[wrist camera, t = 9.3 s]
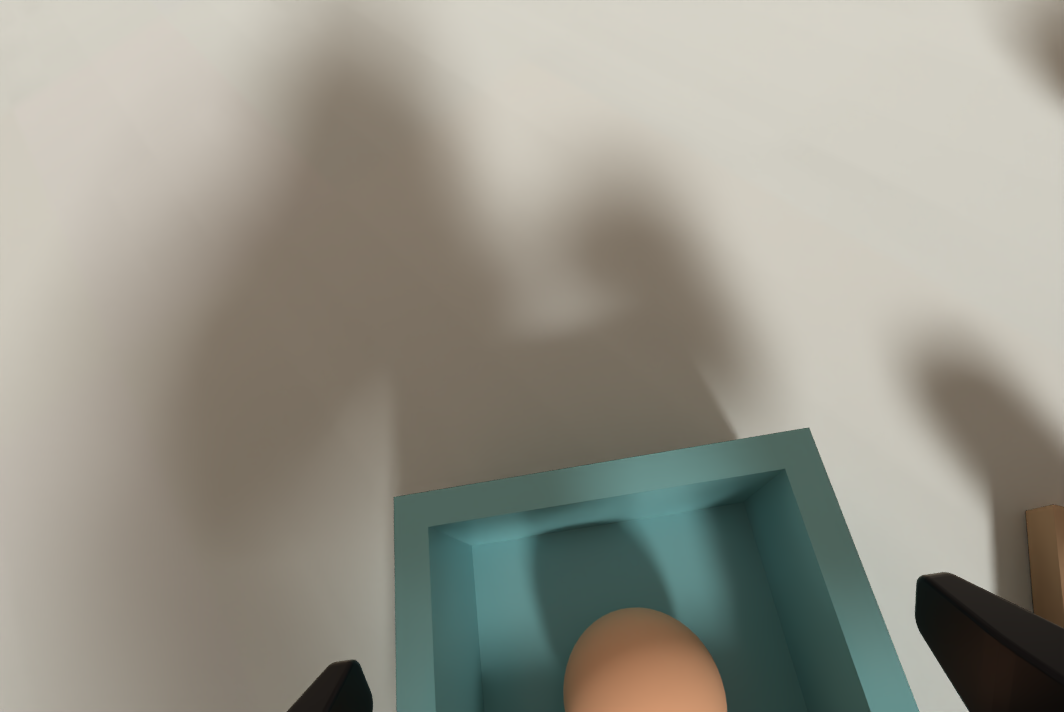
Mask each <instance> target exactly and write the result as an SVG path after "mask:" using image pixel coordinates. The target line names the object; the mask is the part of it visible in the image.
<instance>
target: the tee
mask: <svg viewBox="0 0 1064 712" xmlns="http://www.w3.org/2000/svg"><path fill="white" fill-rule="evenodd" d="M1026 521H1027V534H1028V546H1029V559H1030V571H1031V584H1032V596H1033V609H1034V614H1036V615H1038V616H1040V617H1042V618H1044V619H1046V620H1048V621H1050V622H1052V623H1054V624H1056V625H1058V626H1060V627H1062V628H1064V507H1062V506H1058V505H1049V506H1045V507H1040V508H1036V509H1032V510H1027V511H1026Z"/></svg>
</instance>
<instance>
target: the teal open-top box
mask: <svg viewBox="0 0 1064 712" xmlns="http://www.w3.org/2000/svg"><path fill="white" fill-rule="evenodd" d="M394 555H395V630H396V705H397V712H565V708H564V697H563V686H564V676H565V671H566V666H567V663H568V660H569V657H570V654H571V652H572V650H573V648H574V646H575V644H576V642H577V641H578V639H579V638H580V636H581V635H582V634H583V633H584V631H585V630H586V629H587V628H588V627H589V626H590V625H591V624H592V623H594V622H595V621H596V620H598V619H599V618H601V617H602V616H604V615H606V614H608V613H610V612H613V611H616V610H619V609H624V608H635V607H641V608H648V609H653V610H656V611H660V612H662V613H665V614H667V615H669V616H671V617H673V618H675V619H676V620H678V621H680V622H681V623H682V624H684V625H685V626H686V627H688V628H689V629H690V630H691V631H692V632H693V633H694V634H695V635H696V636H697V637H698V638H699V639H700V640H701V642H702V643H703V644H704V645H705V647H706V648H707V650H708V651H709V653H710V654H711V656H712V658H713V660H714V662H715V664H716V666H717V668H718V671H719V673H720V676H721V679H722V682H723V686H724V690H725V695H726V702H727V712H919V710H918V707H917V704H916V702H915V699H914V697H913V694H912V692H911V689H910V686H909V684H908V681H907V679H906V676H905V674H904V671H903V668H902V666H901V663H900V661H899V658H898V655H897V653H896V650H895V648H894V645H893V643H892V640H891V637H890V635H889V632H888V630H887V627H886V625H885V622H884V619H883V617H882V614H881V612H880V609H879V607H878V604H877V601H876V599H875V596H874V594H873V591H872V589H871V586H870V583H869V581H868V578H867V576H866V573H865V570H864V568H863V565H862V563H861V560H860V558H859V555H858V552H857V550H856V547H855V545H854V542H853V540H852V537H851V534H850V532H849V529H848V527H847V524H846V522H845V519H844V516H843V514H842V511H841V509H840V506H839V504H838V501H837V498H836V496H835V493H834V491H833V488H832V486H831V483H830V480H829V478H828V475H827V473H826V470H825V467H824V465H823V462H822V460H821V457H820V455H819V452H818V449H817V447H816V444H815V442H814V439H813V437H812V434H811V431H810V429H809V428H803V429H797V430H791V431H785V432H779V433H773V434H768V435H762V436H756V437H750V438H744V439H738V440H732V441H726V442H720V443H714V444H708V445H702V446H696V447H690V448H684V449H678V450H672V451H666V452H660V453H654V454H648V455H642V456H636V457H630V458H624V459H618V460H612V461H606V462H600V463H594V464H588V465H582V466H576V467H570V468H564V469H558V470H552V471H547V472H541V473H535V474H529V475H523V476H517V477H511V478H505V479H499V480H493V481H487V482H481V483H475V484H469V485H463V486H457V487H451V488H445V489H439V490H433V491H427V492H421V493H415V494H409V495H403V496H397V497H394Z"/></svg>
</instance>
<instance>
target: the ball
mask: <svg viewBox="0 0 1064 712" xmlns="http://www.w3.org/2000/svg"><path fill="white" fill-rule="evenodd" d="M563 697H564V708H565V712H727V702H726V695H725V690H724V686H723V682H722V679H721V676H720V673H719V671H718V668H717V666H716V664H715V662H714V660H713V658H712V656H711V654H710V653H709V651H708V650H707V648H706V647H705V645H704V644H703V643H702V642H701V640H700V639H699V638H698V637H697V636H696V635H695V634H694V633H693V632H692V631H691V630H690V629H689V628H688V627H686V626H685V625H684V624H682V623H681V622H680V621H678V620H676V619H675V618H673V617H671V616H669V615H667V614H665V613H662V612H660V611H656V610H653V609H648V608H641V607H635V608H624V609H619V610H616V611H613V612H610V613H608V614H606V615H604V616H602V617H601V618H599V619H598V620H596V621H595V622H594V623H592V624H591V625H590V626H589V627H588V628H587V629H586V630H585V631H584V633H583V634H582V635H581V636H580V638H579V639H578V641H577V642H576V644H575V646H574V648H573V650H572V652H571V654H570V657H569V660H568V663H567V666H566V671H565V676H564V686H563Z"/></svg>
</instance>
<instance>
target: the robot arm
mask: <svg viewBox="0 0 1064 712" xmlns="http://www.w3.org/2000/svg"><path fill="white" fill-rule="evenodd" d="M915 619H916V623H917V626H918V629H919V631H920V633H921V635H922V636H923V638H924V640H925V641H926V643H927V644H928V646H929V648H930V649H931V651H932V652H933V654H934V656H935V657H936V659H937V660H938V662H939V664H940V665H941V667H942V669H943V670H944V672H945V673H946V675H947V677H948V678H949V680H950V681H951V683H952V685H953V686H954V688H955V689H956V691H957V693H958V694H959V696H960V698H961V699H962V701H963V702H964V704H965V706H966V707H967V709H968V710H969V712H1064V628H1062V627H1060V626H1058V625H1056V624H1054V623H1052V622H1050V621H1048V620H1046V619H1044V618H1042V617H1040V616H1038V615H1036V614H1034V613H1032V612H1030V611H1028V610H1026V609H1024V608H1021V607H1019V606H1017V605H1015V604H1013V603H1011V602H1009V601H1007V600H1005V599H1003V598H1001V597H999V596H997V595H995V594H993V593H991V592H989V591H987V590H985V589H983V588H980V587H978V586H976V585H974V584H972V583H970V582H968V581H966V580H964V579H962V578H960V577H958V576H956V575H953V574H951V573H947V572H941V573H934V574H928V575H922V576H920V577H919V578H918V580H917V584H916V604H915ZM372 710H373V699H372V694H371V691H370V689H369V686H368V684H367V681H366V679H365V676H364V674H363V671H362V668H361V666H360V664H359V662H357V661H356V660H346V661H339V662H334V663H332V664H331V665H329V666H328V667H327V668H326V669H325V670H324V671H323V672H322V674H321V675H320V676H319V677H318V678H317V679H316V680H315V681H314V682H313V683H312V685H311V686H310V687H309V688H308V689H307V690H306V691H305V692H304V693H303V694H302V696H301V697H300V698H299V699H298V700H297V701H296V702H295V703H294V704H293V706H292V707H291V708H290V709H289V710H288V711H287V712H372Z"/></svg>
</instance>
